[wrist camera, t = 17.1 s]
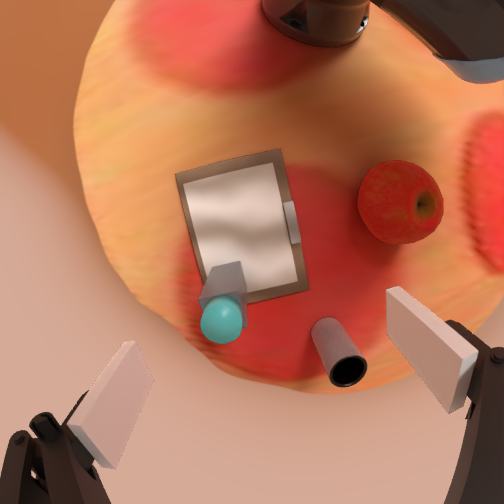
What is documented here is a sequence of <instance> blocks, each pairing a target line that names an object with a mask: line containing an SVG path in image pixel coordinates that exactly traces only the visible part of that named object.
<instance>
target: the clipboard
mask: <svg viewBox="0 0 504 504" xmlns="http://www.w3.org/2000/svg"><path fill="white" fill-rule="evenodd" d="M175 175H176V180H177V184H178V188H179V193H180V197H181V201H182V205H183V209H184V213H185V217H186V221H187V225H188V229H189V233H190V237H191V241H192V244H193V248H194V252H195V256H196V259H197V263H198V266H199V270H200V274H201V277H202V281H203V284H205V282H206V280H207V277H208V275H209V273H210V271H211V268H212V267H214V266H218V265H223V264H227V263H232V262H236V261H241V265H242V269H243V273H244V277H245V282H246V286H247V304H248V303H253V302H257V301H262V300H266V299H271V298H275V297H279V296H284V295H288V294H292V293H296V292H301V291H305V290H309V284H308V279H307V273H306V268H305V262H304V257H303V252H302V246H301V242H302V241H301V236H300V231H299V226H298V221H297V216H296V212H295V207H294V202H293V201H292V198H291V193H290V189H289V184H288V180H287V175H286V171H285V167H284V162H283V158H282V154H281V150H280V149H276V150H271V151H266V152H261V153H257V154H252V155H247V156H243V157H239V158H234V159H230V160H226V161H222V162H218V163H214V164H210V165H206V166H202V167H198V168H195V169H191V170H187V171H184V172H180V173H177V174H175Z"/></svg>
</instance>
